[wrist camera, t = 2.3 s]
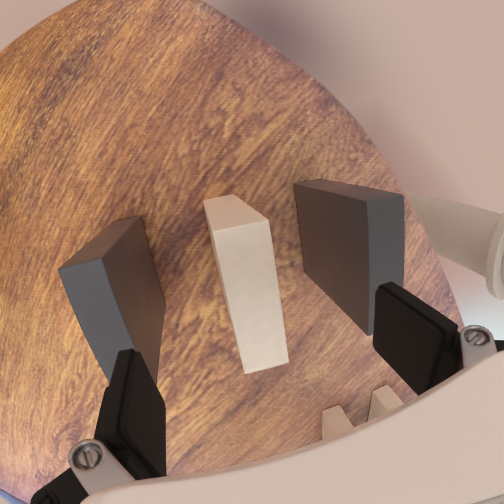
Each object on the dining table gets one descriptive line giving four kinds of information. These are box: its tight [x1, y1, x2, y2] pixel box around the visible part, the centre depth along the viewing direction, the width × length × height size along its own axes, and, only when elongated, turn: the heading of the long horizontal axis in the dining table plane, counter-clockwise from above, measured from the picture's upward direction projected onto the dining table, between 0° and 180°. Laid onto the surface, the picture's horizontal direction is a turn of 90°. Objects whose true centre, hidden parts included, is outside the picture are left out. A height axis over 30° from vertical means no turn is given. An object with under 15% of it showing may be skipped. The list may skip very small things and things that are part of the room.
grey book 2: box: [58, 215, 166, 386], centre depth 18 cm, size 2×8×11 cm, turn 8°
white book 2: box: [322, 405, 354, 440], centre depth 29 cm, size 2×8×11 cm, turn 9°
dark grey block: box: [293, 179, 405, 336], centre depth 20 cm, size 2×8×11 cm, turn 8°
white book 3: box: [368, 384, 404, 421], centre depth 30 cm, size 2×8×11 cm, turn 9°
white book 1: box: [203, 194, 289, 374], centre depth 19 cm, size 2×8×11 cm, turn 9°
